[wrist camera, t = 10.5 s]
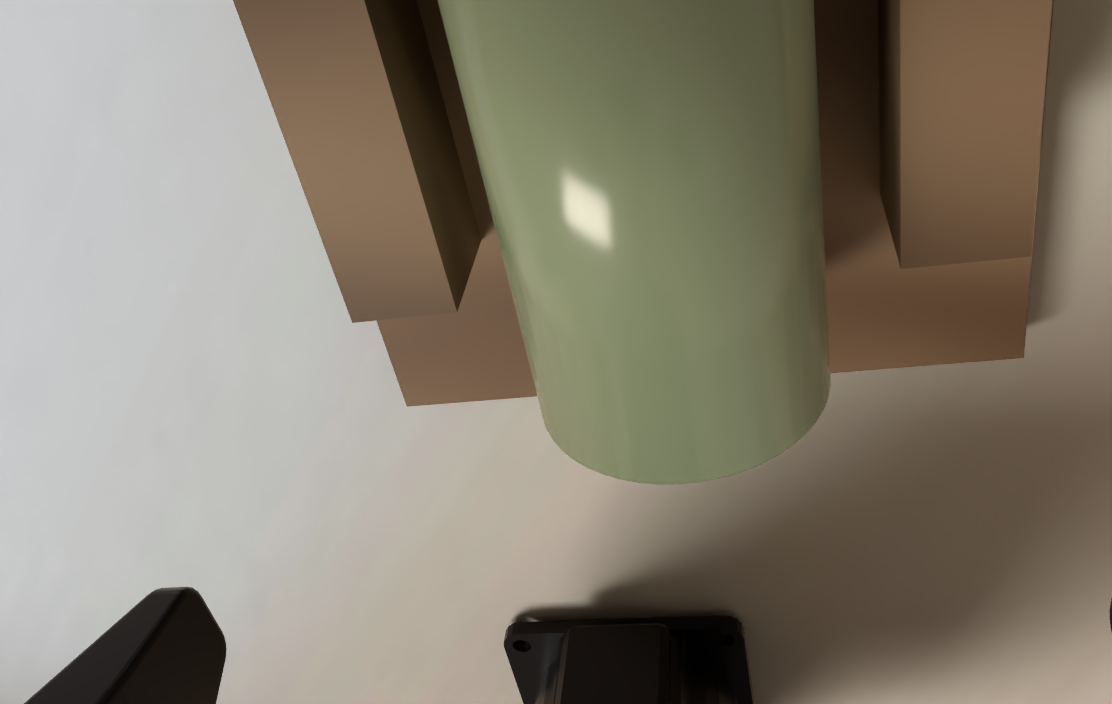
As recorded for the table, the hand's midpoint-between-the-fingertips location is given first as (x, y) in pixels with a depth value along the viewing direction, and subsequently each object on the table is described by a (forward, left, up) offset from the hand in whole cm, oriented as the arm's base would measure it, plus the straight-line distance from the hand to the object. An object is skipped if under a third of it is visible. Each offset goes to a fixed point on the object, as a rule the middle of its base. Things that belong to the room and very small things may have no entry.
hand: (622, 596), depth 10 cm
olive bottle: (-4, 0, -8) cm, 9 cm away
